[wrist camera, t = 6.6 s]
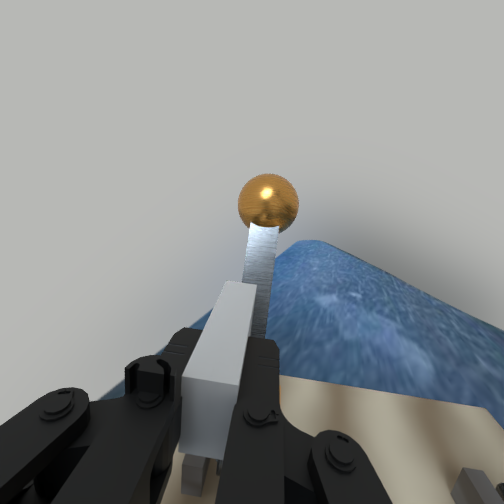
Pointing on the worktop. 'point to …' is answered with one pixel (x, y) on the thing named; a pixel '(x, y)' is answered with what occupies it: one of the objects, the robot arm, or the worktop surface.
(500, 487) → the black knob lever
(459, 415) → the switch board
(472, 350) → the worktop surface
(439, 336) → the worktop surface
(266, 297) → the orange knob lever
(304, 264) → the worktop surface
